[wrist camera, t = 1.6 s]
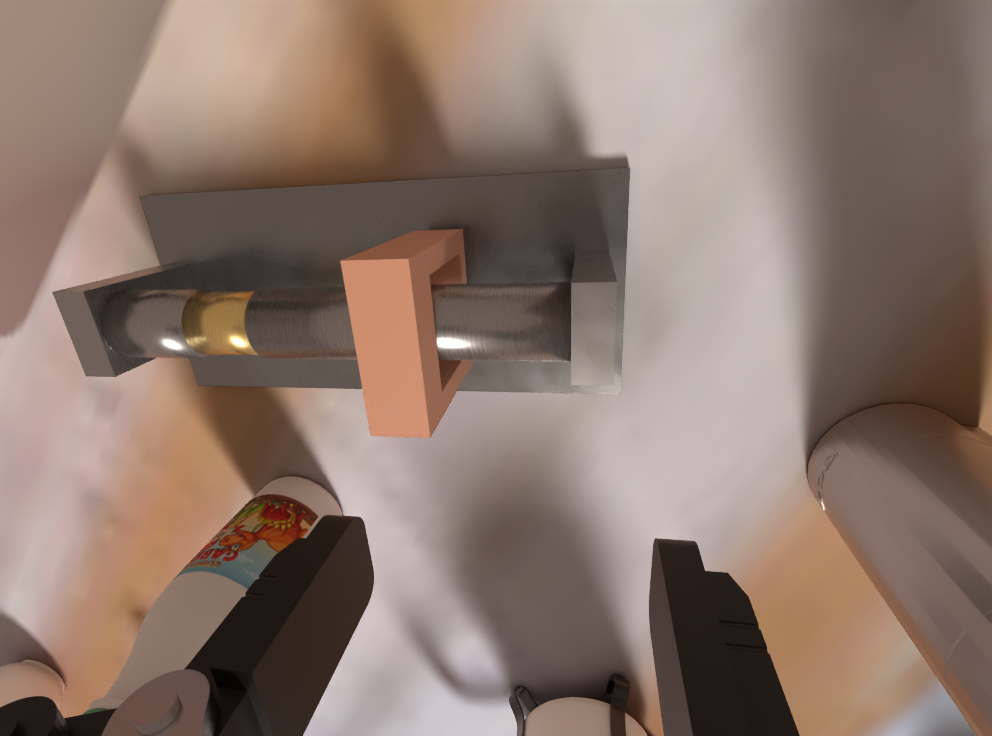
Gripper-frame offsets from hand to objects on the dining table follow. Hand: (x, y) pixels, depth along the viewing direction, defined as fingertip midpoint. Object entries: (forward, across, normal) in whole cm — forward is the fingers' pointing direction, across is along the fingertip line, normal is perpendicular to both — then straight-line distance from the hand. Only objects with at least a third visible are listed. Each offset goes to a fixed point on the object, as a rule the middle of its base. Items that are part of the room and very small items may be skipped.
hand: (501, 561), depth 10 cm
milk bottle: (+24, +22, +19) cm, 38 cm away
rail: (+24, +12, 0) cm, 26 cm away
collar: (+21, +7, 0) cm, 23 cm away
